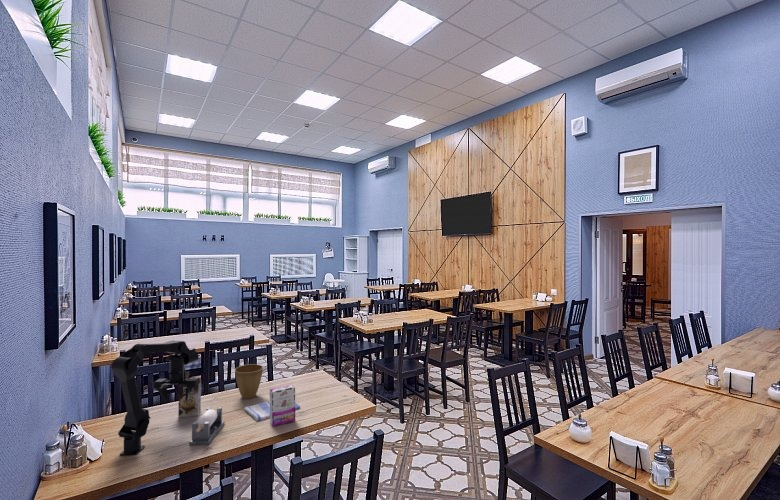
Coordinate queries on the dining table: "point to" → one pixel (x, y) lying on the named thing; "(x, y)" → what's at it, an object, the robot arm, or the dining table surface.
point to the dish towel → (261, 410)
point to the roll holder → (206, 430)
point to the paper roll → (206, 419)
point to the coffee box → (189, 401)
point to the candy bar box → (282, 405)
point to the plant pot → (248, 379)
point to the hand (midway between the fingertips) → (176, 401)
